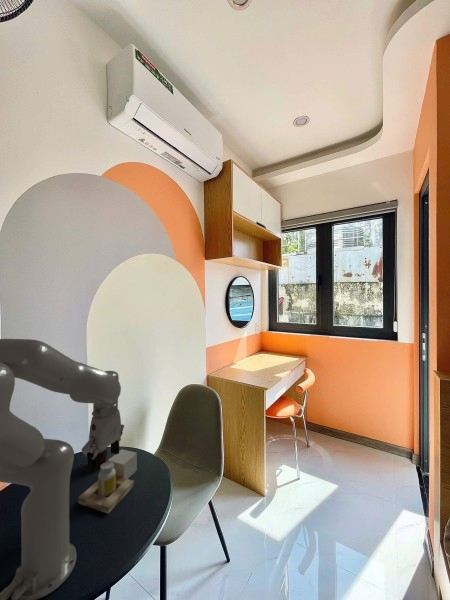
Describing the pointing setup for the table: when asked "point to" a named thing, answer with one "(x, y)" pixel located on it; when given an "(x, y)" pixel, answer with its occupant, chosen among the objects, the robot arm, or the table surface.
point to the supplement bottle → (106, 479)
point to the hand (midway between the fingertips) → (104, 461)
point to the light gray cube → (124, 463)
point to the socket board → (104, 503)
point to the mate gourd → (100, 457)
